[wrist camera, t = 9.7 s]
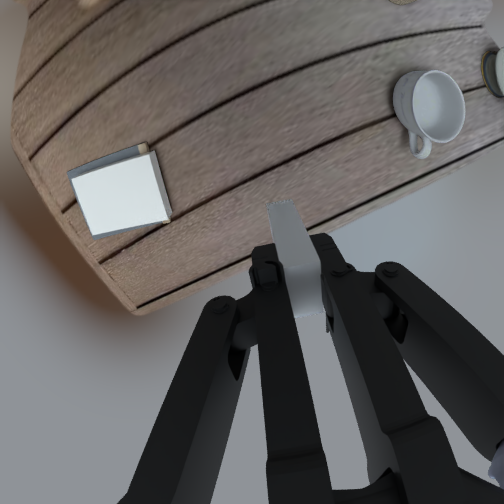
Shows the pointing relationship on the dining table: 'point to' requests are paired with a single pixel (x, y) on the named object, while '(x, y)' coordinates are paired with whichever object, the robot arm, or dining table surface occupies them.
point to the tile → (123, 194)
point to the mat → (98, 163)
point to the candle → (401, 1)
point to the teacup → (429, 108)
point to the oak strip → (144, 149)
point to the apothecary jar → (494, 72)
